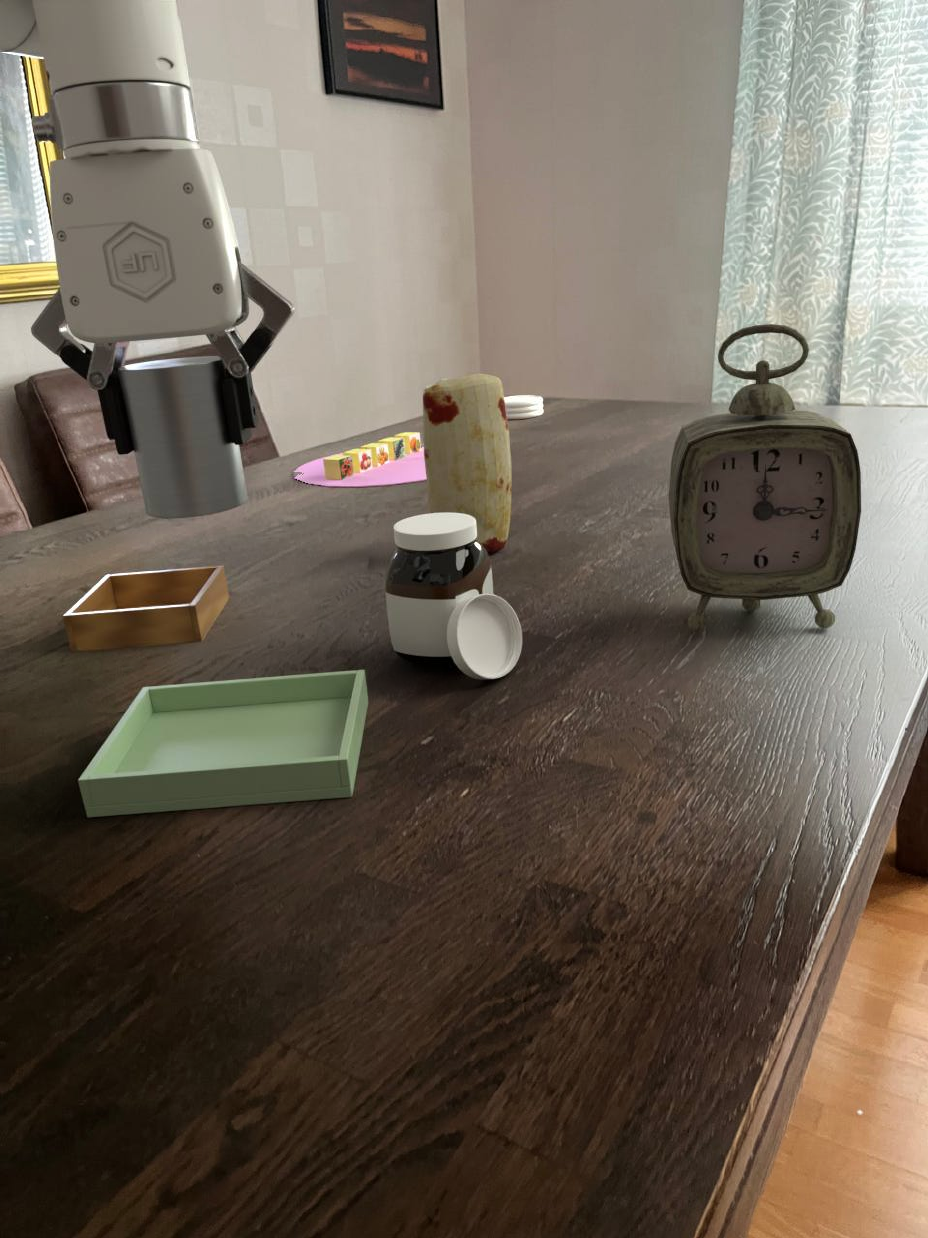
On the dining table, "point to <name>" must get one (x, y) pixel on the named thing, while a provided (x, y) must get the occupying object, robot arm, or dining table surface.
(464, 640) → the spread jar
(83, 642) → the wooden box
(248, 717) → the tray
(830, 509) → the tabletop clock
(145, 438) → the can
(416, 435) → the platter
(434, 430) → the food model
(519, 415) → the white short ridged cylinder
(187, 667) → the dining table surface
